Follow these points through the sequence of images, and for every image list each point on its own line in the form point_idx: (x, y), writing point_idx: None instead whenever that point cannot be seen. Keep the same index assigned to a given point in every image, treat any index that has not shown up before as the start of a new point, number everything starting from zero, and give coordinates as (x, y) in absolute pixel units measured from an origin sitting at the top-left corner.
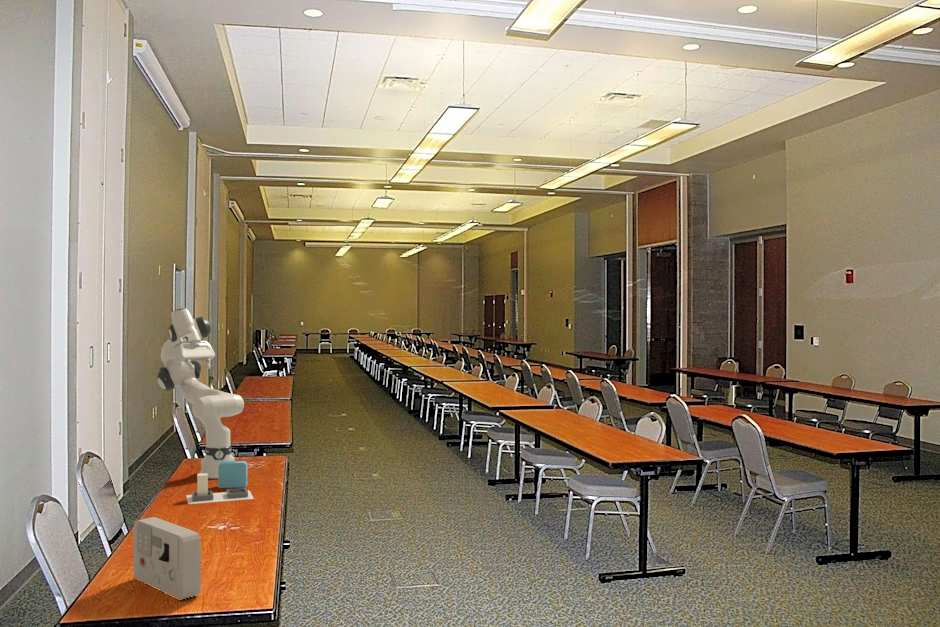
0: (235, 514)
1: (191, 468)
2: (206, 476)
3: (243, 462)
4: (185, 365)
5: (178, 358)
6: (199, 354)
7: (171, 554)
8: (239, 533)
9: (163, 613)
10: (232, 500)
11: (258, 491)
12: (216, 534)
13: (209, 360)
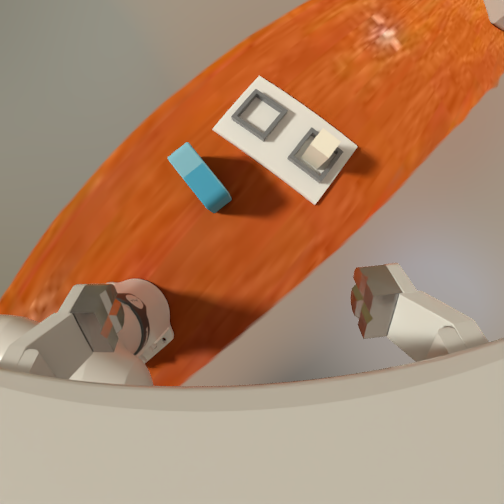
0: (338, 50)
1: None
2: (324, 130)
3: (185, 149)
4: None
5: None
6: (192, 449)
7: None
8: (388, 5)
9: None
10: (292, 97)
11: (195, 123)
12: (408, 24)
13: (28, 343)
